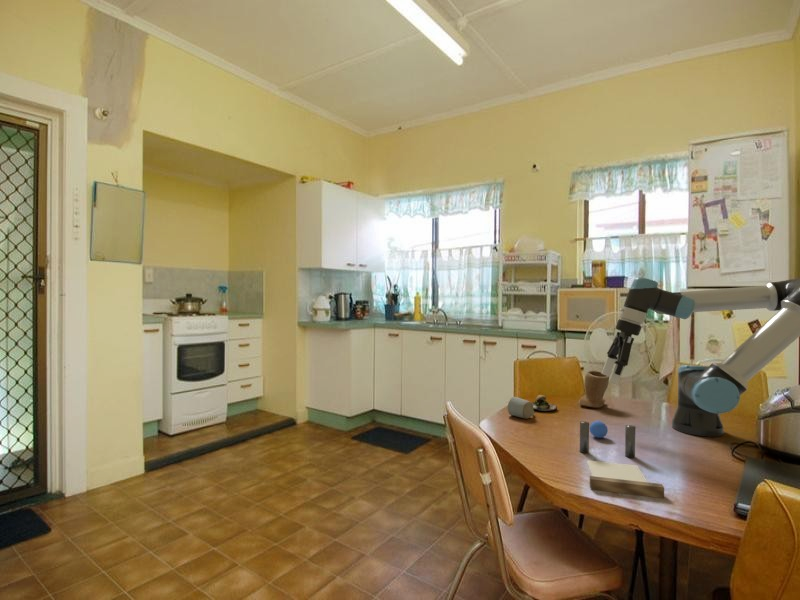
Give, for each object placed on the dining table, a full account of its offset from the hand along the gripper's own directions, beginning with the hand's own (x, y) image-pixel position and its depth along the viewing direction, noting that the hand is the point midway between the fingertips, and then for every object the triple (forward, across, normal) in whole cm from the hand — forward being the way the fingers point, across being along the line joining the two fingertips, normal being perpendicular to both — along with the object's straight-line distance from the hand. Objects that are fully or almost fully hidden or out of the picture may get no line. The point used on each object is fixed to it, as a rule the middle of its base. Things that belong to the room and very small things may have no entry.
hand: (608, 379), depth 151 cm
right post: (+17, +24, +7) cm, 30 cm away
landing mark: (+18, +38, +1) cm, 42 cm away
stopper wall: (+18, +50, +1) cm, 53 cm away
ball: (+16, +8, +1) cm, 18 cm away
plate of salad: (+25, -26, -14) cm, 38 cm away
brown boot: (+18, -38, +7) cm, 43 cm away
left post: (+21, +24, -5) cm, 32 cm away
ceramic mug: (+27, -12, -22) cm, 37 cm away
